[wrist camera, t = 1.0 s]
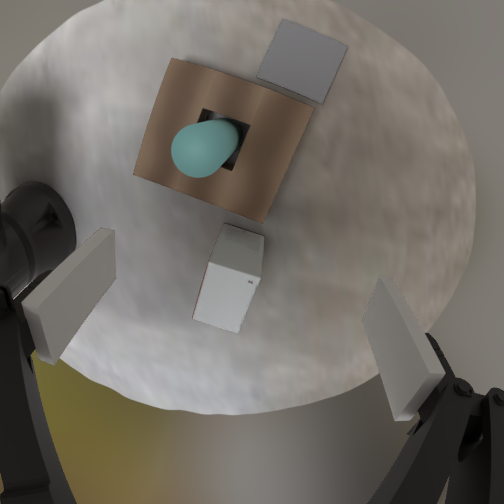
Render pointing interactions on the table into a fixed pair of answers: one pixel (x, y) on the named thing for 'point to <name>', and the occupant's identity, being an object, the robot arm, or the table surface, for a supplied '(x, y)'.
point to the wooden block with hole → (253, 149)
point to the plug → (205, 146)
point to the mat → (302, 61)
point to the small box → (230, 279)
